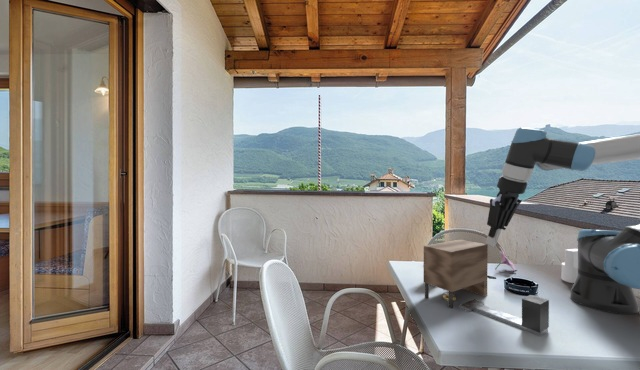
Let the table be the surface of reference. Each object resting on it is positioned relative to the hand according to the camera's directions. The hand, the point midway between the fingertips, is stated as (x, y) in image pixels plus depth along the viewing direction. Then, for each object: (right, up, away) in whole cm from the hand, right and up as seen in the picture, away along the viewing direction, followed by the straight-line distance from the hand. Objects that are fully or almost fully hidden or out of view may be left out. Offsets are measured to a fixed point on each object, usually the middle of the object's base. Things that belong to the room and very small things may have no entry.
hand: (489, 245), depth 97 cm
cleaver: (+1, -17, +26) cm, 31 cm away
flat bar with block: (-6, -17, -16) cm, 24 cm away
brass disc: (-15, -17, -3) cm, 23 cm away
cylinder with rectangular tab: (+41, -17, +14) cm, 47 cm away
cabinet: (-12, -17, -1) cm, 21 cm away
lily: (+23, -17, +27) cm, 39 cm away
